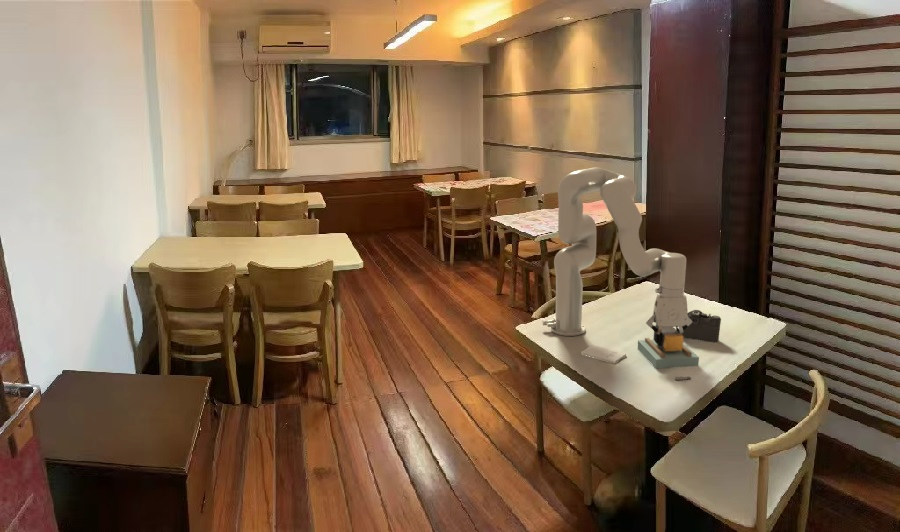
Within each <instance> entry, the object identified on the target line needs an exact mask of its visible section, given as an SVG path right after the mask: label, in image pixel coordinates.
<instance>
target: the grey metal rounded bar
mask: <svg viewBox="0 0 900 532" xmlns="http://www.w3.org/2000/svg"><path fill="white" fill-rule="evenodd" d="M692 378H693V377H692V376H690V375H688V376H675V377H674V381H677V382H679V381H680V382H681V381H683V380H684V381H691V380H692ZM684 381H683V382H684Z"/></svg>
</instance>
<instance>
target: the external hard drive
mask: <svg viewBox="0 0 900 532" xmlns="http://www.w3.org/2000/svg"><path fill="white" fill-rule="evenodd" d="M581 354H583V355H582V356H584V355H587V356H586V357H588V356H590V357H589V358H591V357H594V358H593V359H595V358H596V360H598V359H599V361H602V360H603V362H606V363H609V362H611V363H610V364H613V363H614V364H613V365H616V364H617V363H618V362H619V361H620V360H623V359H624V358H625V356H626V357H627V353H624V352H620V351H617V350H614V349H609V348H606V347H602V346H598V345H595V344H591V345H590V346H588V347H587V348H585V349H583V350H582V351H581V352H580V355H581ZM622 358H623V359H622ZM615 363H616V364H615Z"/></svg>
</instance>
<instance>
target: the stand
mask: <svg viewBox="0 0 900 532" xmlns="http://www.w3.org/2000/svg"><path fill="white" fill-rule="evenodd" d="M637 350H638V351H639V353H641V354H642V355H643V356H644V358H646V359H647V361H648V360H649V361H650V362H651V363H652V364H653V365H652V364H651V363H650V362H649V361H648V362H649V363H650V364H651V365H652V366H653V367H654V368H655V369H666V368H667V369H669V368H668V367H670V368H682V367H683V368H686V367H699V361H700V356H698V355H697V354H696V353H695V352H694V351H693V350H692V349H691V348H689V347H688V346H687V345H686V344H685V343H684V342H683V347H682V350H681V351H664V350H663V349H662V348H661V347H660V346H659V345H658V344H657V343H656V342H655V341H654V340H653V339H650V337H645V338H644V339H642V340H641V339H640V340H637Z"/></svg>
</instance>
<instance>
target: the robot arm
mask: <svg viewBox="0 0 900 532" xmlns="http://www.w3.org/2000/svg"><path fill="white" fill-rule="evenodd" d="M637 190H638V189H637V185H636V183H635V182H634V180H632V179H631V178H630V177H628V176H626V175H624V174H620V173H617V172H614V171H612V170H608V169H606V168H603V167H591V168H584V169H579V170H575V171H573V172H570V173H568V174H567V175H565V176H564V177H563V178H562V179H561V180H560V182H559V185H558V188H557V198H558V199H557V201H558V217H557V218H558V219H557V221H558V222H557V223H558V224H557V225H558V226H557V229H558V230H557V232H558V234H557V235H558V238H559V240H560V241H561V243H563V244H565V245H570V246H567V247H564V248H561V249H560V250H559V251H558V252H556V254H555V256H554V258H553V259H554V260H553V265H554V266H553V267H554V271H555V316H553V318H552V319H549V320H548V319H543V320H542V321H541V323H542V326H547V327H548V328H550V330H551V332H553V333H554V334H557V335H559V336H565V337H574V336H575V337H576V336H581V335H583V334H585V333H586V329H587V328H586V326H585V325H584V324H582V322H583V321H582V318H583V317H582V316H583V315H582V314H583V312H582V311H583V290H584V289H583V288H584V286H583V279H582V275H581V271H582V270H584V269H587V268H589V267H591V266H592V265H593V264H594V263H595V260H596V257H597V232H598V231H597V225H596V222H595V220H594V219H593V217H592V216H591V215H589V214H587V213H584V204H583V201H582V196H584V195H587V194H593V193H599V195H600V197H601V199H602V201H603V204H604V205H605V207H606V209H607V211H608V213H609V214H610V216H611V218H612V220H613V222H614V224H615V225H616V227H617V230H618V240H619V246H620V248H619V249H620V251H621V254H622V256H623V258H624V260H625V263H626V264H627V266H628V267H629V268H630V270H631V271H632V272H633V273H634V274H635V275H637V276H639V277H644V278H645V277H648V276H650V275H652V274H655V273H657V272H660V279H659V285H658V288H655V290H654V292H655V294H656V293H657V295H656V297H655V300H654V301H655V302H654V305H653V312H652V316H651V317H649V319H647V321H645V324H646V325H647V326H648V327H649V328H650V329H652V330H653V332H654V331H655V342H656V343H657V344H658V345H659V346H661V340H662V335H661V331H662V328H663V327H674V328H675V329H676V330H677V331H678V332H679V333H681V334H682V333H683V331H684V330H685V329H686V328H687V326H689V325H690V324H691V323H692V320H691V319H690V318H689V317H688V312H689V311H688V310H689V309H688V300H687V299H688V298H687V295H685V283H686V271H687V257H686V256H685V255H684V254H682V253H677V252H669V251H666V250H663V249H660V248H649V249H648V250H645V248H643V247H644V246H643V245H642V243H641V240H640V234H639V231H640V227H641V224H642V222H643V216H642V214H641V212H640V210H639V209H638V206H637V205H636V203H635V201H634V198H635V197H636V195H637ZM653 323H655V325H654V324H653Z"/></svg>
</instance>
